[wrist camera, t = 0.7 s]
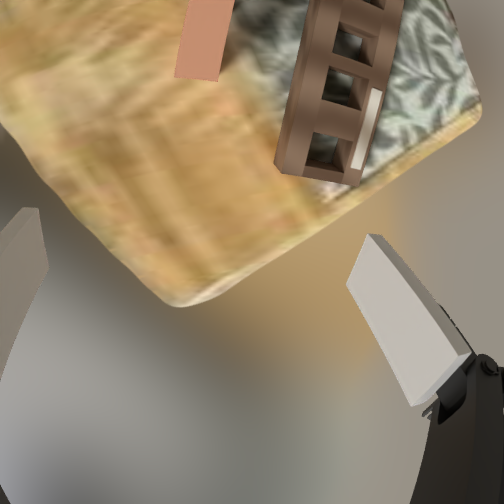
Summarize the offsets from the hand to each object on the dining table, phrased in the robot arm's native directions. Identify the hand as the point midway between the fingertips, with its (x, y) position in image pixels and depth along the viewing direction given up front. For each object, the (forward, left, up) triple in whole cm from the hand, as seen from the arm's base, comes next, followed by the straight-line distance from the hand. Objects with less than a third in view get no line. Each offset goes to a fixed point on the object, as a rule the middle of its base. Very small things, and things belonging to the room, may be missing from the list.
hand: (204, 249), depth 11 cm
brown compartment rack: (-10, +13, -22) cm, 28 cm away
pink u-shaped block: (-10, -1, -22) cm, 24 cm away
